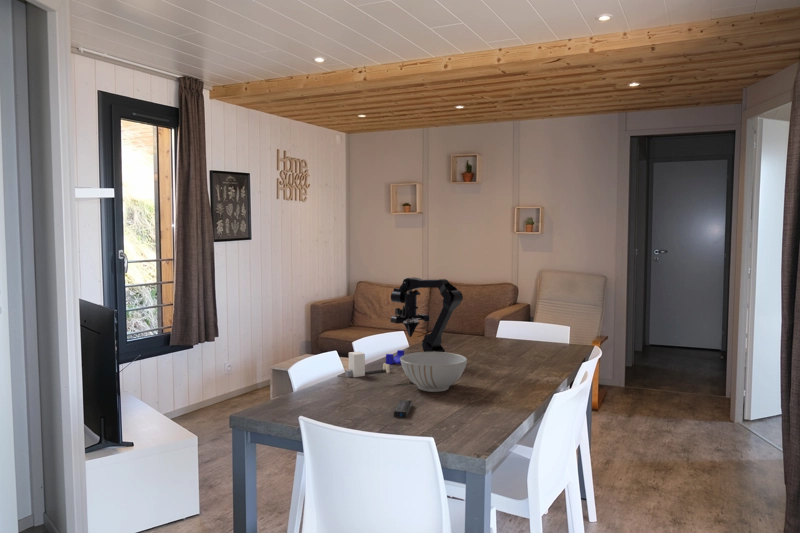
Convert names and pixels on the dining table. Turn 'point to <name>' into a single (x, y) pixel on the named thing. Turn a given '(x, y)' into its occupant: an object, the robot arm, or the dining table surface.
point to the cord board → (385, 369)
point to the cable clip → (396, 359)
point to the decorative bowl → (433, 369)
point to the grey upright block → (357, 363)
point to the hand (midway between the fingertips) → (410, 336)
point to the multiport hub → (402, 408)
